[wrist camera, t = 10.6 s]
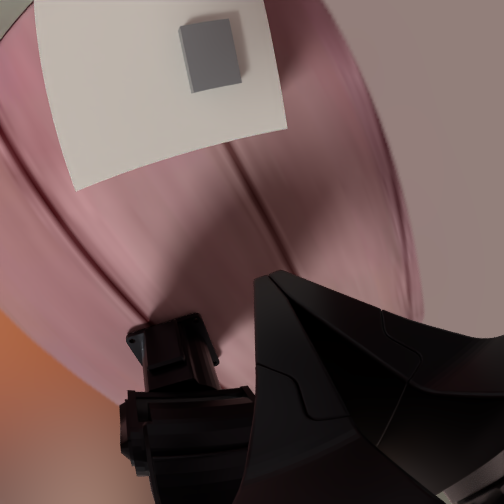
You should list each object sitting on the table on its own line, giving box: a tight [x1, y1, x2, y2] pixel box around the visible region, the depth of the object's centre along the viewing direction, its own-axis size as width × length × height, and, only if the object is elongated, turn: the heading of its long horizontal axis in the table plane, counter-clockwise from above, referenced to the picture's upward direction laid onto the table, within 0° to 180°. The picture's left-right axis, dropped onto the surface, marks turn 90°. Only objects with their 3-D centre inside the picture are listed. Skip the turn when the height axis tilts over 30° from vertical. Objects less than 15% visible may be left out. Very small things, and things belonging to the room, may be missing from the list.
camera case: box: [34, 0, 287, 191], centre depth 10 cm, size 15×10×6 cm, turn 10°
